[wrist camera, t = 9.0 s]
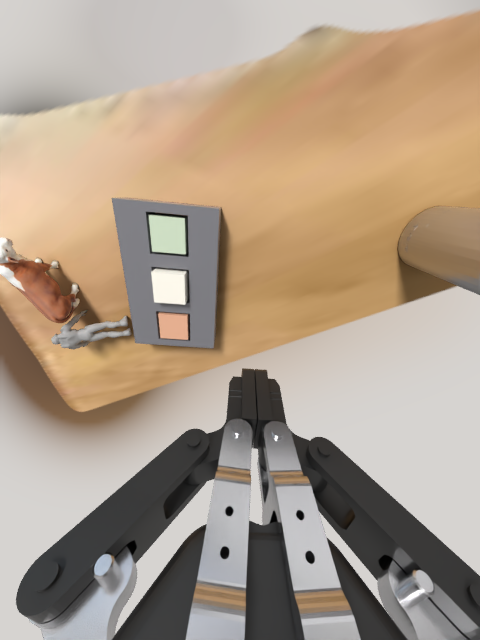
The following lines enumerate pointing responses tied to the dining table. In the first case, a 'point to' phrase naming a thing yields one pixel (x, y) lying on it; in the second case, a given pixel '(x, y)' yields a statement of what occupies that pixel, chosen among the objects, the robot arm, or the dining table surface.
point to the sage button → (169, 233)
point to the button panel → (143, 261)
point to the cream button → (170, 285)
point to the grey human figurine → (87, 332)
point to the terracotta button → (174, 325)
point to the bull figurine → (37, 283)
